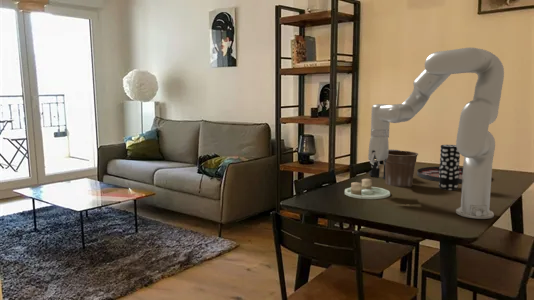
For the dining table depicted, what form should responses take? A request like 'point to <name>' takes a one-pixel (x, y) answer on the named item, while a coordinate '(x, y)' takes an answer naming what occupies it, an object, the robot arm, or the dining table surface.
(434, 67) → the robot arm
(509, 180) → the dining table surface
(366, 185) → the bead
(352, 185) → the tan egg
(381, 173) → the brown egg
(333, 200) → the dining table surface
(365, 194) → the pale green faceted plate
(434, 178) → the palette wheel
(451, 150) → the white-spotted black cylinder
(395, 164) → the plant pot
